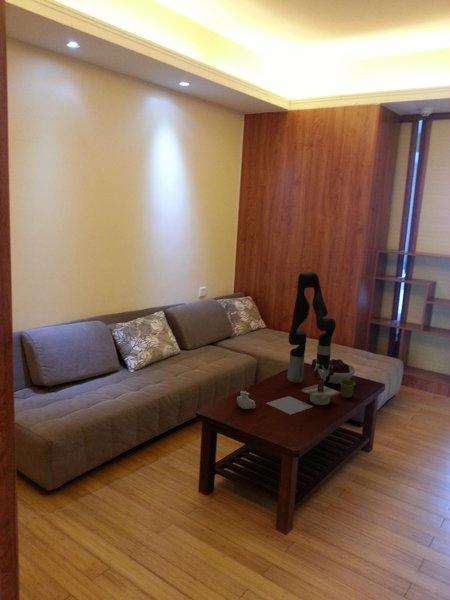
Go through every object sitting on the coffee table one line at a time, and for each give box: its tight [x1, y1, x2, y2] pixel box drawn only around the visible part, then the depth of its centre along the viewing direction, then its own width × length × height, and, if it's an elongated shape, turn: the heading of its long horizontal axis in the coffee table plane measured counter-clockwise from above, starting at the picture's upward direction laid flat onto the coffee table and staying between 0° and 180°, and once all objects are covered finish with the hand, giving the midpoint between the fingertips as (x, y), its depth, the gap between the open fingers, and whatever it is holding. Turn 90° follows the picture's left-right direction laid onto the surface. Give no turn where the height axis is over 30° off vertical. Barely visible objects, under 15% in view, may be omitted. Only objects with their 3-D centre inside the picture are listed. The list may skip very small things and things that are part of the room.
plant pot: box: [339, 379, 356, 399], centre depth 292 cm, size 9×9×9 cm
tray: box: [266, 395, 314, 415], centre depth 275 cm, size 19×19×1 cm
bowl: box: [309, 394, 331, 406], centre depth 282 cm, size 11×11×6 cm
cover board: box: [300, 379, 341, 400], centre depth 281 cm, size 16×16×7 cm
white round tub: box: [316, 358, 356, 385], centre depth 317 cm, size 25×25×15 cm
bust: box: [236, 390, 256, 410], centre depth 269 cm, size 12×8×11 cm
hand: (321, 379), depth 280 cm, fingers open, 8 cm apart
